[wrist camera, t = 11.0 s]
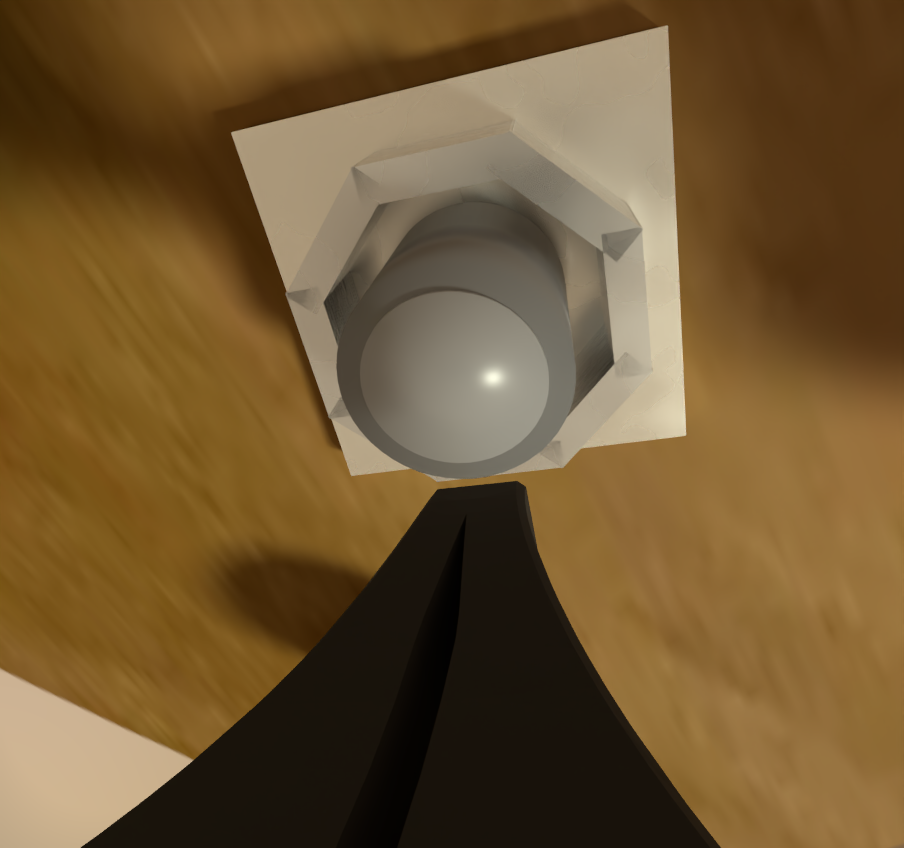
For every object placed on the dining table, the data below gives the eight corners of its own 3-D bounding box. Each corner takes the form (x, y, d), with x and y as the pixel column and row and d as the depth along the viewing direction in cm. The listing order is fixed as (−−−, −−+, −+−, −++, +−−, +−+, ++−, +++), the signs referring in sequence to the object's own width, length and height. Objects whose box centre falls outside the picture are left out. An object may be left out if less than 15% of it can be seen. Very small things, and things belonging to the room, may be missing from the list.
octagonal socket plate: (659, 27, 14) (693, 20, 11) (679, 418, 19) (707, 488, 16) (246, 127, 16) (181, 145, 13) (358, 458, 21) (329, 527, 18)
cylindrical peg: (554, 186, 15) (562, 243, 11) (573, 363, 17) (587, 472, 13) (368, 219, 16) (303, 286, 11) (409, 384, 18) (368, 492, 14)
